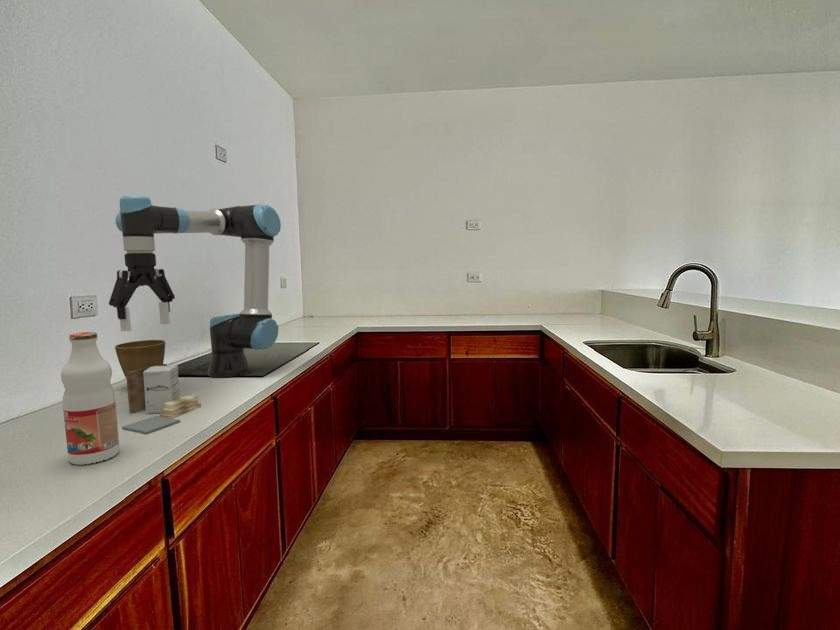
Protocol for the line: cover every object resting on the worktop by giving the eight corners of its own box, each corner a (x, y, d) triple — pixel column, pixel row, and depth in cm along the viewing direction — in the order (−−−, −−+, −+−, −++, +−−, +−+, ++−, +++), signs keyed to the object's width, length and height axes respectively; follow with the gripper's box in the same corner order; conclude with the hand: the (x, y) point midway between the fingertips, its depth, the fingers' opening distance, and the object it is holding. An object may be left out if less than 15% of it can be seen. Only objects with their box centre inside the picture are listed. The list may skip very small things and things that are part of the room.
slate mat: (156, 417, 129) (156, 415, 129) (180, 422, 125) (180, 420, 125) (122, 428, 120) (122, 426, 120) (146, 434, 116) (146, 432, 116)
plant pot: (145, 382, 168) (141, 339, 166) (178, 384, 164) (175, 340, 162) (107, 393, 154) (103, 346, 152) (143, 396, 150) (139, 348, 148)
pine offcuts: (190, 406, 139) (189, 394, 139) (201, 408, 138) (200, 395, 138) (159, 418, 129) (158, 405, 128) (171, 420, 128) (170, 406, 127)
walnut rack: (167, 401, 144) (164, 363, 143) (169, 401, 144) (166, 364, 142) (129, 412, 133) (126, 372, 132) (131, 413, 133) (128, 372, 131)
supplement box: (145, 414, 132) (141, 371, 130) (154, 406, 139) (151, 365, 137) (173, 412, 133) (169, 370, 131) (181, 405, 140) (178, 364, 139)
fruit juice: (125, 455, 103) (115, 332, 100) (74, 470, 96) (61, 338, 93) (112, 445, 109) (101, 329, 106) (63, 458, 102) (50, 334, 99)
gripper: (163, 253, 142) (169, 321, 144) (87, 252, 118) (95, 334, 120) (184, 252, 140) (189, 321, 142) (110, 252, 116) (118, 334, 119)
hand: (146, 327), depth 131 cm, fingers open, 13 cm apart
